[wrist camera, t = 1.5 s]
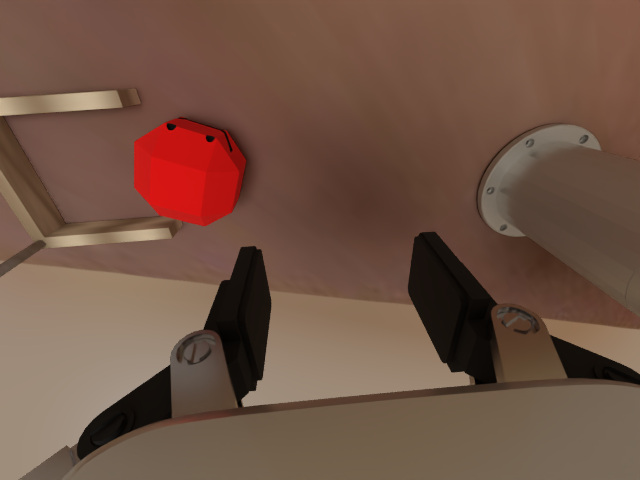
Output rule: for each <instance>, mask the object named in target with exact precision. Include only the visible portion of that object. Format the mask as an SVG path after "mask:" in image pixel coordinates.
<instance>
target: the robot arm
mask: <svg viewBox="0 0 640 480" xmlns="http://www.w3.org/2000/svg"><path fill="white" fill-rule="evenodd" d="M477 203H478V210H479V213H480V215H481V217H482V219H483V220H484V222H485V223H486V224H487V225H488V226H490V227H491V228H492V229H493V230H495V231H496V232H498V233H500V234H503V235H506V236H513V237H522V236H527V237H529V238H530V239H532V240H533V241H534V242H536V243H537V244H538V245H540V246H541V247H543V248H544V249H545V250H547V251H548V252H550V253H551V254H552V255H554V256H555V257H556V258H558V259H559V260H561V261H562V262H563V263H565V264H566V265H568V266H569V267H570V268H572V269H573V270H574V271H576V272H577V273H579V274H580V275H581V276H583V277H584V278H586V279H587V280H588V281H590V282H591V283H592V284H594V285H595V286H597V287H598V288H599V289H601V290H602V291H604V292H605V293H606V294H608V295H609V296H610V297H612V298H613V299H615V300H616V301H617V302H619V303H620V304H622V305H623V306H624V307H626V308H627V309H629V310H630V311H631V312H633V313H634V314H636V315H637V316H639V317H640V161H638V160H634V159H630V158H627V157H623V156H619V155H615V154H611V153H607V152H604V151H601V147H600V145H599V142H598V140H597V139H596V137H595V136H594V135H593V134H592V133H591V132H589V131H588V130H586V129H585V128H582V127H579V126H575V125H570V124H563V123H558V124H548V125H544V126H541V127H537V128H535V129H533V130H530V131H528V132H526V133H524V134H522V135H521V136H519V137H518V138H516V139H515V140H513V141H512V142H511V143H509V144H508V145H507V146H506V147H505V148H504V149H502V151H501V152H500V153H499V154H498V155H497V156H496V157H495V158H494V159H493V161H492V162H491V164H490V165H489V167H488V168H487V170H486V172H485V174H484V176H483V178H482V180H481V183H480V187H479V190H478V198H477ZM408 293H409V296H410V298H411V300H412V302H413V304H414V306H415V308H416V310H417V312H418V314H419V316H420V318H421V320H422V322H423V324H424V326H425V328H426V330H427V333H428V335H429V337H430V339H431V341H432V343H433V345H434V347H435V349H436V351H437V353H438V355H439V357H440V359H441V361H442V362H443V363H447V364H448V366H449V368H450V370H451V372H462V371H464V372H465V373H467V374H468V375H470V376H469V379H470V385H468V386H457V387H446V388H434V389H424V390H413V391H402V392H391V393H382V394H381V393H380V394H370V395H359V396H349V397H338V398H328V399H318V400H308V401H299V402H288V403H278V404H268V405H258V406H249V407H244V406H243V403H242V398H243V397H245V395H247V394H248V393H249V391H256V386H257V380H262V378H263V371H264V362H265V354H266V346H267V338H268V330H269V321H270V313H271V297H270V292H269V286H268V281H267V276H266V271H265V266H264V261H263V256H262V251H261V249H256V247H255V246H250V247H241V249H240V252H239V255H238V258H237V261H236V264H235V267H234V270H233V272H232V275H231V278H230V280H223V281H222V282H221V284H220V286H219V289H218V292H217V295H216V297H215V300H214V302H213V305H212V308H211V310H210V313H209V316H208V318H207V321H206V324H205V327H204V329H203V330H199V331H195V332H193V333H191V334H189V335H187V336H185V337H184V338H182V339H181V340H180V341H179V342H178V343H177V344H176V345H175V346H174V348H173V350H172V352H171V357H170V365H169V366H168V367H166V368H165V369H164V370H162V371H160V372H159V373H158V374H156V375H155V376H153V377H152V378H150V379H149V380H148V381H146V382H145V383H143V384H142V385H140V386H139V387H137V388H136V389H135V390H133V391H132V392H130V393H129V394H127V395H126V396H125V397H123V398H122V399H120V400H119V401H117V402H116V403H115V404H113V405H112V406H110V407H109V408H107V409H106V410H105V411H103V412H102V413H101V414H99V415H98V416H97V417H96V418H95V419H93V420H92V422H91V423H90V424H89V425H88V426H87V427H86V428H85V430H84V432H83V434H82V435H81V437H80V438H79V442H78V443H77V444H76V445H74V446H73V447H71V448H69V447H68V446H65V447H64V448H62V449H61V450H60V451H58V452H57V453H55V454H54V455H53V456H51V457H50V458H48V459H47V460H46V461H44V462H43V463H41V464H40V465H39V466H37V467H36V468H34V469H33V470H32V471H30V472H29V473H27V474H26V475H25V476H23V477H22V478H20V479H19V480H640V374H638V373H637V372H635V371H634V370H632V369H631V368H628V367H626V366H624V365H622V364H620V363H617V362H615V361H613V360H610V359H608V358H606V357H603V356H601V355H598V354H596V353H593V352H591V351H588V350H586V349H583V348H581V347H578V346H576V345H574V344H571V343H569V342H566V341H564V340H561V339H558V338H557V337H554V336H552V335H549V332H548V330H547V328H546V325H545V324H544V322H543V321H542V319H541V318H540V317H539V316H538V315H537V314H535V313H534V312H532V311H530V310H529V309H526V308H524V307H522V306H519V305H515V304H506V303H504V304H497V303H496V302H495V301H494V300H493V298H492V297H491V296H490V295H489V294H488V293H487V291H486V290H485V289H484V288H483V287H482V286H481V284H480V283H479V282H478V281H477V280H476V278H475V277H474V276H473V275H472V274H471V273H470V271H469V270H468V269H467V268H466V267H465V266H464V264H463V263H461V262H460V260H459V259H458V258H457V257H456V256H455V255H454V253H453V252H452V251H451V250H450V249H449V248H448V246H447V245H446V244H445V243H444V242H443V240H442V239H441V238H440V237H439V236H438V235H437V233H436V232H423V233H420V234H419V236H417V237H415V239H414V245H413V253H412V260H411V268H410V275H409V283H408Z"/></svg>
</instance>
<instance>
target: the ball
mask: <svg viewBox="0 0 640 480" xmlns="http://www.w3.org/2000/svg"><path fill="white" fill-rule="evenodd" d="M245 165H246V159H245V158H244V156H243V155H242V153H241V152H240V150H239V149H238V147H237V145H236V144H235V142H234V141H233V139H232V138H231V136H230V135H229V133H228V132H227V131H226V130H219V129H216V128H213V127H210V126H207V125H203V124H200V123H197V122H194V121H191V120H188V119H187V118H184V117H179V118H177V119H174V120H171V121H168V122H165V123H164V124H162V125H160V126H159V127H157V128H156V129H154V130H152V131H151V132H149V133H148V134H146V135H144V136H143V137H141V138H140V139H138V140H136V141H135V142H134V188H135V189H136V190H137V191H138V192H139V193H140V194H141V195H142V196H143V198H144V199H145V200H146V201H147V202H148V203H149V204H150V205H151V206H152V207H153V209H154V210H155V211H156V212H157V213H158V214H159V215H160V216H164V217H168V218H172V219H176V220H180V221H185V222H189V223H193V224H197V225H201V226H206V225H208V224H210V223H212V222H214V221H216V220H218V219H220V218H222V217H224V216H226V215H228V214H229V213H231V212H232V211H233V209H234V207H235V205H236V203H237V201H238V199H239V195H240V190H241V185H242V180H243V175H244V170H245Z"/></svg>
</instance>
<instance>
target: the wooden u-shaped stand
mask: <svg viewBox="0 0 640 480" xmlns="http://www.w3.org/2000/svg"><path fill="white" fill-rule="evenodd" d="M137 104H141V102H140V99H139V96H138V94H137V91H136V89H122V90H107V91H92V92H77V93H62V94H47V95H32V96H17V97H2V98H0V192H1V194H2V195H3V197H4V198H5V200H6V201H7V202H8V204H9V205H10V207H11V208H12V210H13V211H14V213H15V214H16V216H17V217H18V219H19V220H20V222H21V223H22V225H23V226H24V228H25V229H26V231H27V232H28V234H29V235H30V237H31V238H32V239H33V241H34V243H33V244H31V245H30V246H28V247H27V248H25V249H24V250H22V251H20V252H19V253H17V254H16V255H14V256H13V257H11V258H10V259H8V260H6V261H5V262H3V263H2V264H0V277H1V276H3V275H4V274H5V273H7V272H8V271H10V270H11V269H13V268H14V267H16V266H17V265H18V264H20V263H22V262H23V261H24V260H26V259H27V258H29V257H30V256H32V255H33V254H35V253H36V252H38V251H39V250H41V249H43V248H56V247H68V246H81V245H93V244H106V243H118V242H131V241H143V240H156V239H168V238H173V237H174V235H175V234H176V233H177V232H178V230H179V229H180V228H181V226H182V225H183V224H182V221H180V220H176V219H172V218H168V217H164V216H159V217H146V218H133V219H120V220H107V221H95V222H82V223H69V224H66V223H65V222H64V220H63V218H62V216H61V215H60V213H59V211H58V210H57V208H56V206H55V204H54V203H53V201H52V199H51V198H50V196H49V194H48V193H47V191H46V189H45V187H44V186H43V184H42V182H41V181H40V179H39V177H38V175H37V174H36V172H35V170H34V169H33V167H32V165H31V163H30V162H29V160H28V158H27V157H26V155H25V153H24V152H23V150H22V148H21V146H20V145H19V143H18V141H17V140H16V138H15V136H14V134H13V133H12V131H11V129H10V128H9V126H8V124H7V122H6V121H5V119H4V117H3V116H4V115H19V114H34V113H48V112H63V111H77V110H92V109H107V108H121V107H127V106H132V105H137Z"/></svg>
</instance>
